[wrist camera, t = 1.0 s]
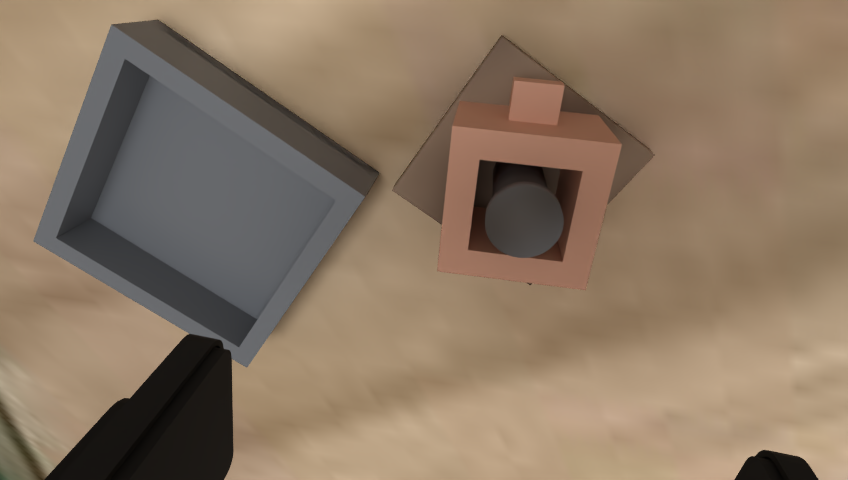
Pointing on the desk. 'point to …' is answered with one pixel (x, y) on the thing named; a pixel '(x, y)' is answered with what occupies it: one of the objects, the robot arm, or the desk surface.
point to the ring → (538, 146)
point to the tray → (196, 190)
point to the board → (507, 182)
